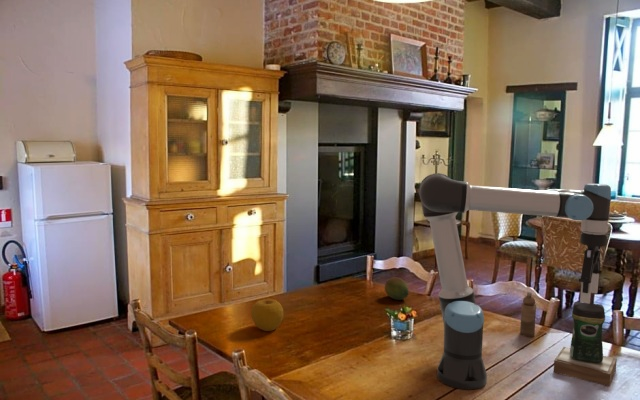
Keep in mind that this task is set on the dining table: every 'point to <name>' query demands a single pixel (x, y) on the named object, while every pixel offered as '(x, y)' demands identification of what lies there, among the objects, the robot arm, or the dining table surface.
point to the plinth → (585, 368)
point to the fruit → (396, 288)
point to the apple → (267, 314)
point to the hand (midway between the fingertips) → (588, 297)
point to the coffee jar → (587, 332)
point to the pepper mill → (528, 316)
